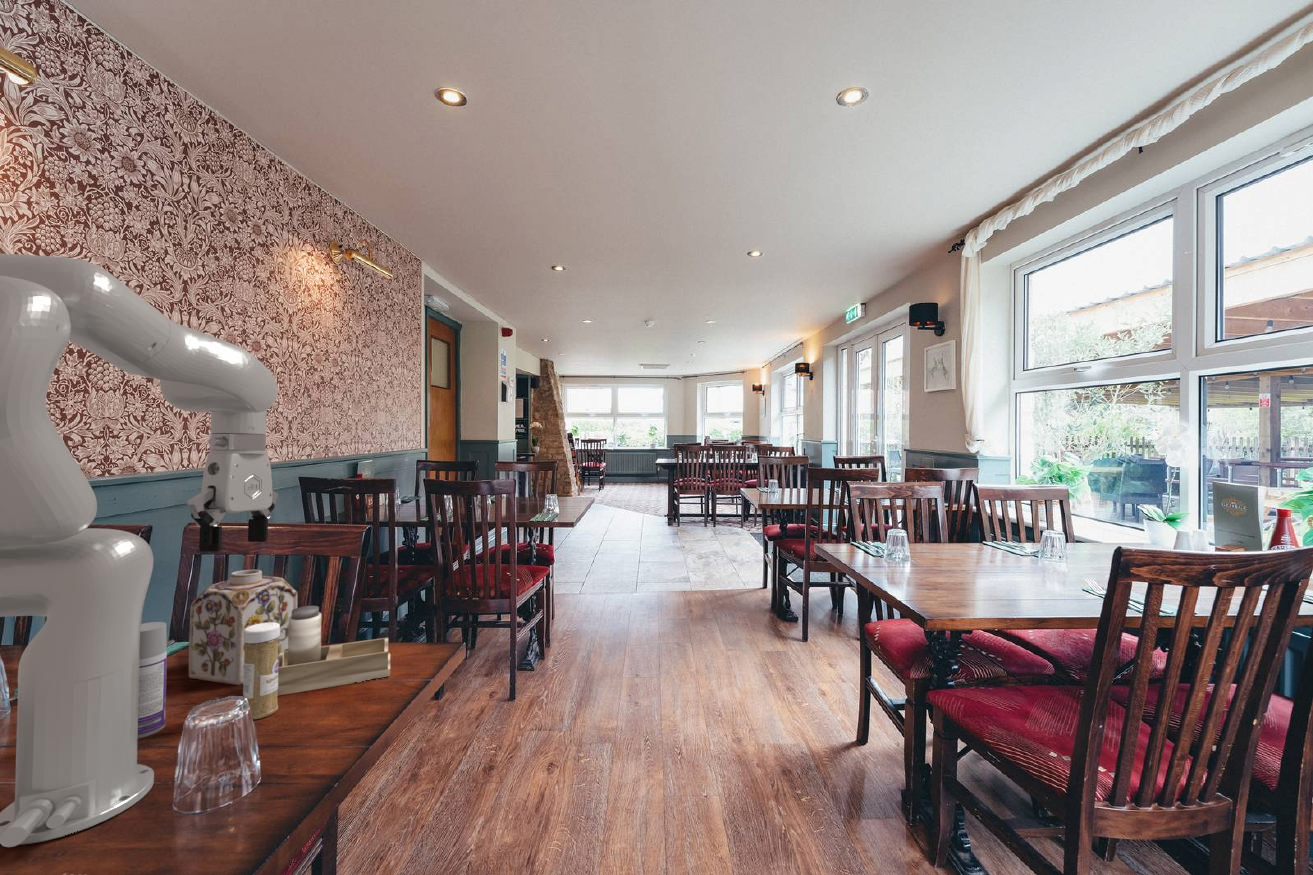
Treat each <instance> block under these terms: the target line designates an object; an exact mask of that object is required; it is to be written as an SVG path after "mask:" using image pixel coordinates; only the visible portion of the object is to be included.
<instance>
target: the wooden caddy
mask: <svg viewBox="0 0 1313 875" xmlns="http://www.w3.org/2000/svg"><path fill="white" fill-rule="evenodd" d="M386 676H390V677H391V653H390V652H389V637H382V638H381V637H380V638H376V639H375V638H374V639H367V640H359V641H353V642H352V641H351V642H345V643H336V644H329V645H324V646H322V612H320V606H317V605H305V606H298V607H297V608H296V609H293V610H292V616H291V617H289V632H288V651H284V652H280V654H279V656H278V689H277V697H278V696H283V695H290V694H296V693H302V692H309V691H313V690H320V689H325V688H332V687H339V686H344V685H349V684H355V683H354V682H357V683H363V682H362V681H364V682H366V681H365V680H370V679H373V678H381V677H386ZM370 681H371V680H370Z"/></svg>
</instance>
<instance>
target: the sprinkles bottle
mask: <svg viewBox="0 0 1313 875" xmlns="http://www.w3.org/2000/svg"><path fill="white" fill-rule="evenodd" d="M279 636H280V625H279V624H278V623H274V622H269V623H260V624H255V625H252V626H249V627H247V628H246V629H245V630H244V634H243V641H244V645H245V653H244V654H245V655H244V677H243V684H242V686H243V687H242V695H243V698H244V697H246V698H247V699H248V702H249V705H250V707H251V710H252V714H253V718H254V719H253V720H259V719H260V720H261V719H263V718H266V717H269V716H271V715H273V714H274V713H275V712H277V710H279V705H278V696H277V689H278V639H279Z"/></svg>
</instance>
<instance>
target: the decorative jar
mask: <svg viewBox="0 0 1313 875" xmlns="http://www.w3.org/2000/svg"><path fill="white" fill-rule="evenodd" d="M296 608H298V591H297V590H296V589H294V587H293V586H292V585H290V583H288V581H286V580H285V579H284V578H283V577H279V576H270V575H263V572H262V570H261V569H244V570H237V571H233V572H231V573H230V574H229V579H228V580H224V581H220V582H217V583H213V584H211V585H209V586H208V587H207V588H206V589H205V590H203V591H202V592H200V593H199V595H198V596H197V597H196V598H195V599H194V600H193V601H192V603H190V611H189V612H190V613H189V636H188V637H189V640H188V677H189V678H190V679H195V680H199V681H200V680H201V681H207V682H213V683H214V682H215V683H223V684H229V685H236V686H240V685H243V677H244V655H245V654H244V653H245V645H244V641H243V634H244V630H245V629H246V628H247V627H249V626H252V625H255V624H260V623H269V622H274V623H278V624H279V625H280V636H279V639H278V656H279V654H280V652H284V651H288V632H289V617H291V616H292V610H293V609H296Z"/></svg>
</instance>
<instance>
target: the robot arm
mask: <svg viewBox="0 0 1313 875" xmlns="http://www.w3.org/2000/svg"><path fill="white" fill-rule="evenodd" d="M69 341H70V342H72V343H74V344H75V345H77V346H79V347H81V348H83V349H84V350H86V351H88V352H90V353H91V354H93V355H95V356H97V357H98V358H100V359H102V360H104V361H105V362H107V363H109V364H111V365H112V366H114V367H115V368H118V369H120V370H121V371H123V372H126V373H127V374H128V373H129V374H132V375H135V376H139V377H140V376H141V377H144V378H148V379H154V380H159V381H160V392H161V395H162V396H163V398H164V400H165V401H166V402H167V403H169V405H171V406H172V407H174V408H176V409H178V410H181V411H184V412H190V413H191V412H192V413H210V435H209V437H210V438H209V439H208V444H209V452H208V453H207V458H206V460H205V464H204V469H203V475H202V482H201V492H199V493H197V494H196V495H194V496H192V497H191V498H189V499H188V500H187V501H186V505H187V507H188V509H189V511H190V515H191V519H193V520H194V522H195V525H196V527H198V528H199V540H198V541H199V543H198V545H199V546H198V550H199V552H204V553H205V552H211V553H212V552H220V551H221V550H222V542H223V541H222V540H223V538H222V537H223V526H222V525H220V522H221V521H222V520H223V519H224V517H225V516H226V514H227V513H228V514H242V513H248V515H250V517H251V518H249V519H248V521H247V522H248V523H247V524H248V525H247V526H248V528H247V542H249V543H265V542H267V541H268V538H269V537H268V534H269V519H270V518H271V517H272V513H273V511H274V509H275V507H276V506H275V504H276V502H277V499H278V497H279V493H278V492H276V491H275V490H273V479H272V477H273V476H272V467H271V461H270V457H269V454H268V453H266V446H267V445H266V444H267V443H266V442H267V416H268V415H267V410H269V409H270V408H272V407H273V405H274V404H275V402H276V401H277V397H278V385H277V382H276V379H275V377H274V375H273V373H271V370H270V369H269V368H268V367H267V366H266V365H265V364H264V363H263V362H261V361H260V360H259V359H258V358H257V356H255V355H253V354H252V353H251V352H250V351H248V350H247V349H244V348H243V347H240V346H238V345H236V344H234V343H231V342H228V341H226V340H224V339H221V338H218V337H216V336H213V335H210V334H208V333H205V332H202V331H199V330H196V329H194V328H191V327H188V326H185V325H183V324H179V323H176V322H174V321H173V320H171V319H170V318H169V317H167V315H165V314H164V313H162V312H161V311H159V309H157V308H155V306H153V305H151V304H150V303H149V302H148V301H147V300H145V299H144V298H142V297H141V296H140V295H139V294H138V293H136V291H133V289H131V288H130V287H129V286H127V285H126V284H125V283H123V282H122V281H121V280H120V279H118V278H117V277H115V276H114V275H113V274H112V273H111V272H109V271H107V270H106V269H105V268H102V267H101V266H99V265H97V264H95V263H92V262H88V261H85V260H81V259H77V258H71V257H61V256H51V255H50V256H49V255H35V254H34V255H33V254H17V253H16V254H15V253H1V252H0V618H4V617H27V616H28V617H29V616H32V617H46V620H45V623H44V625H43V626H42V627H41V629H40V630H39V631H38V632H37V633H36V635H35V636H34V637H33V638H32V640H31V641H30V642H29V643H28V644H27V646H26V648H25V649H24V651H23V652H22V654H21V656H20V659H19V664H18V670H17V708H16V709H17V714H16V716H17V717H16V744H15V745H16V748H15V750H16V751H15V784H14V786H15V787H14V792H15V793H14V801H13V802H11V803H10V804H8V806H6V807H5V808H3V809H2V810H1V811H0V845H1V846H2V847H6V848H13V847H16V846H20V845H27V844H28V845H29V844H36V843H41V842H46V841H51V840H55V839H58V838H62V837H65V835H66V836H68V834H69V835H71V833H72V834H75V833H78V832H80V831H84V830H86V829H89V828H91V827H93V826H95V825H98V824H101V823H102V822H105V821H107V820H109V819H112V818H114V817H115V816H117V815H119V814H121V813H122V812H124V811H125V810H127V809H129V808H131V807H132V806H133V805H135V804H136V803H137V802H139V801H140V800H142V798H144V797H145V796H146V795H147V793H149V792H150V790H151V789H152V788H153V785H154V782H155V771H154V770H153V769H152V768H151V767H149V766H147V765H145V764H139V763H138V739H137V737H138V695H139V652H140V629H141V624H142V619H143V618H142V617H143V610H144V604H145V601H146V598H147V597H146V595H147V591H148V590H149V589H148V588H149V585H150V581H151V578H152V573H153V569H154V553H153V551H152V547H151V546H150V545H149V544H148V542H147V541H146V540H145V539H144V538H142V537H141V536H139V535H137V534H135V533H132V532H130V531H125V530H120V529H112V528H95V527H94V528H91V527H90V528H88V527H89V526H90V525H91V524H92V522H93V521H94V520H95V518H96V516H97V511H98V501H97V498H96V494H95V492H94V490H93V488H92V486H91V484H90V482H89V480H88V479H87V477H86V476H85V474H84V472H83V471H82V469H81V467H80V466H79V464H78V463H77V461H76V459H75V458H74V456H73V454H72V453H71V452H70V449H69V448H68V447H67V445H66V443H65V441H64V440H63V438H62V437H61V435H60V434H59V432H58V430H57V429H56V426H55V425H54V423H53V421H52V419H51V417H50V414H49V412H48V409H47V408H48V407H47V394H48V391H49V386H50V383H51V380H52V378H53V375H54V373H55V370H56V367H57V365H58V363H59V361H60V359H61V357H62V355H63V353H64V352H65V350H66V348H67V346H68V343H69ZM212 515H213V516H212ZM77 831H78V832H77ZM74 832H75V833H74Z"/></svg>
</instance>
